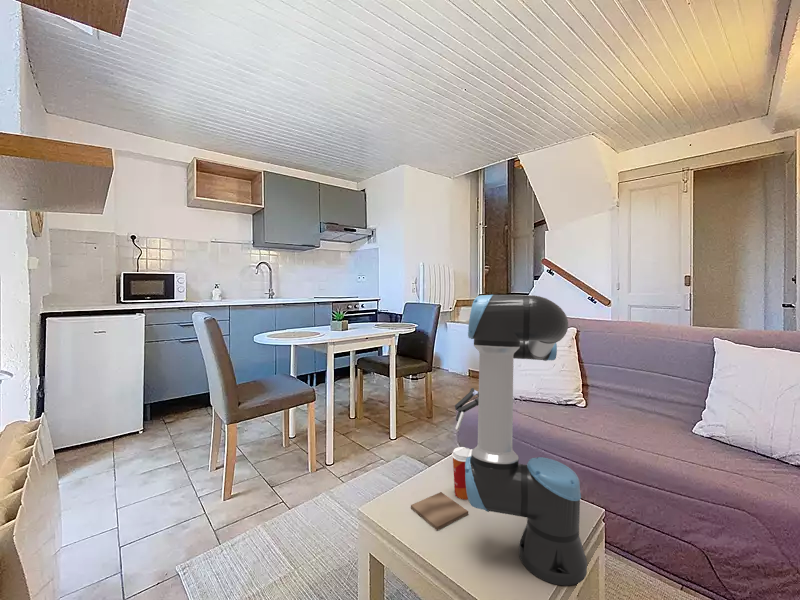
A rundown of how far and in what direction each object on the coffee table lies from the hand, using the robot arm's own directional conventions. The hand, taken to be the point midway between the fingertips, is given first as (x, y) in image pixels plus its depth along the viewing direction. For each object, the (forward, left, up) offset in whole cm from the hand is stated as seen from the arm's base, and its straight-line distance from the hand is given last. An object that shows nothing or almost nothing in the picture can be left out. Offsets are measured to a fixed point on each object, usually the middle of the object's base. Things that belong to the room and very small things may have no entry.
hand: (475, 437), depth 121 cm
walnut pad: (-5, +20, -16) cm, 26 cm away
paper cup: (-3, +8, -16) cm, 18 cm away
